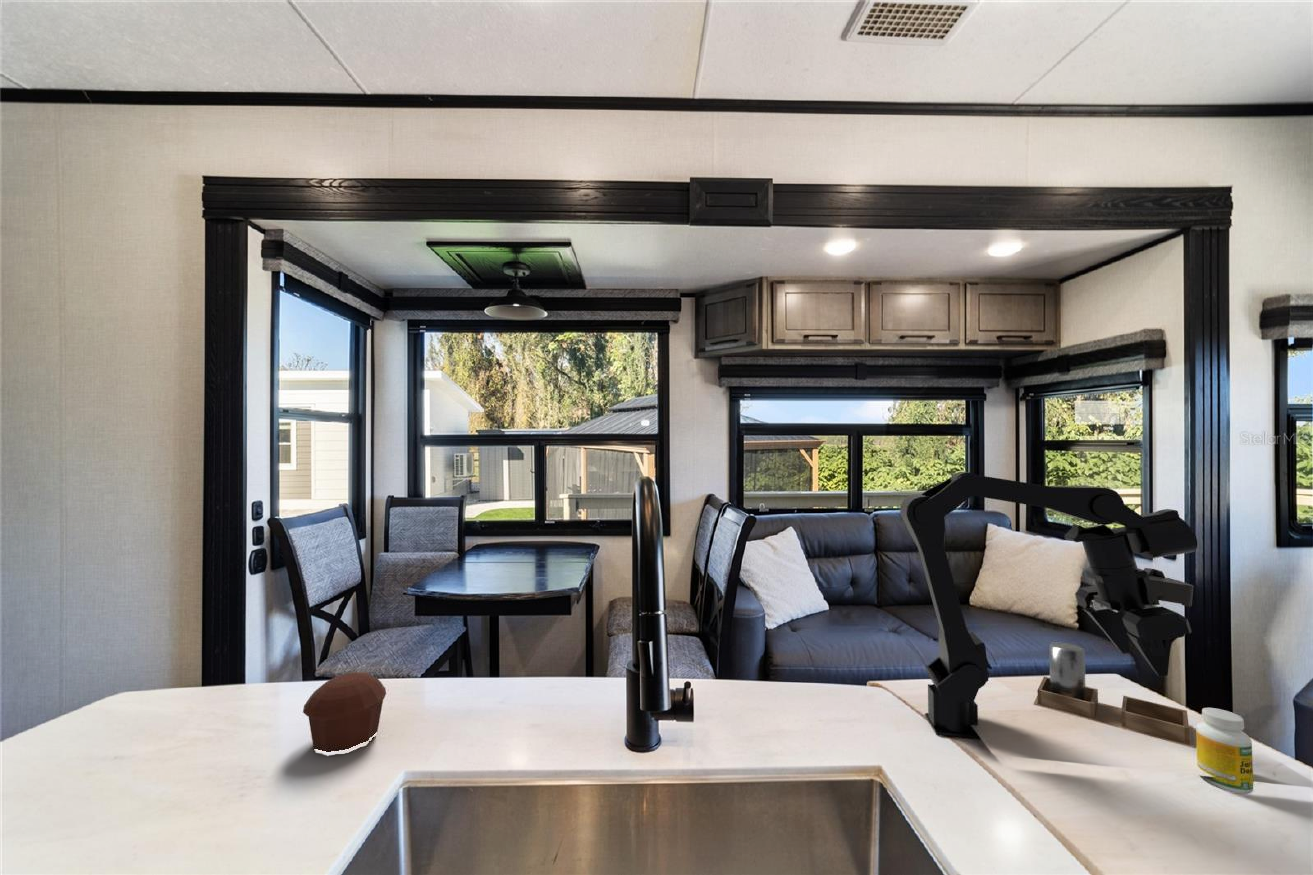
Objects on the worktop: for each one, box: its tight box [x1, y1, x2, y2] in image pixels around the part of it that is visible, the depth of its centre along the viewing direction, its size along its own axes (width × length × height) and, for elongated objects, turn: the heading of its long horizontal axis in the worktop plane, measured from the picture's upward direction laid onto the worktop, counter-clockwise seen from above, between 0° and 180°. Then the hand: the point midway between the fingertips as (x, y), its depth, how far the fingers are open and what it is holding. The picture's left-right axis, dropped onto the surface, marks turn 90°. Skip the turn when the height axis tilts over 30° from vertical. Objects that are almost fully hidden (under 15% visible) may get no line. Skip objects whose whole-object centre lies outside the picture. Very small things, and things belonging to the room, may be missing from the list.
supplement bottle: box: [1195, 707, 1254, 795], centre depth 73 cm, size 5×5×10 cm
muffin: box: [302, 671, 387, 752], centre depth 84 cm, size 12×11×10 cm
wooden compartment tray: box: [1032, 676, 1196, 749], centre depth 90 cm, size 20×9×4 cm, turn 46°
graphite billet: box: [1048, 641, 1087, 701], centre depth 94 cm, size 5×5×10 cm
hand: (1143, 663), depth 81 cm, fingers open, 9 cm apart
